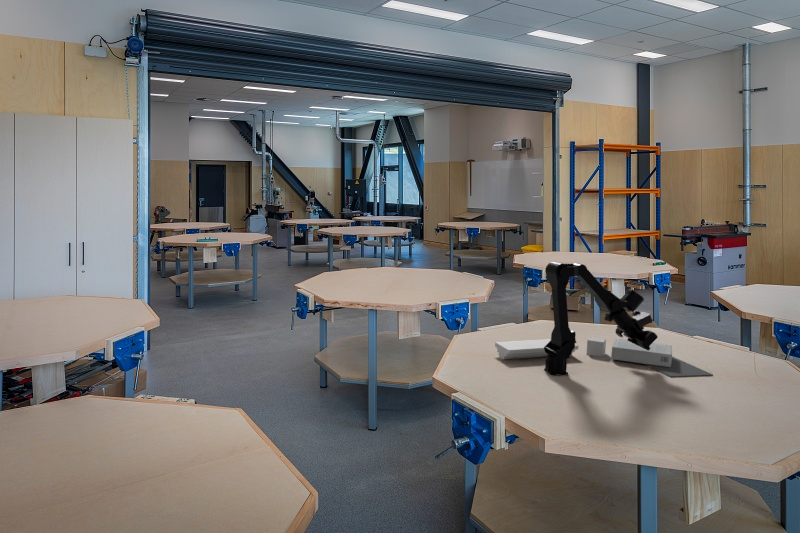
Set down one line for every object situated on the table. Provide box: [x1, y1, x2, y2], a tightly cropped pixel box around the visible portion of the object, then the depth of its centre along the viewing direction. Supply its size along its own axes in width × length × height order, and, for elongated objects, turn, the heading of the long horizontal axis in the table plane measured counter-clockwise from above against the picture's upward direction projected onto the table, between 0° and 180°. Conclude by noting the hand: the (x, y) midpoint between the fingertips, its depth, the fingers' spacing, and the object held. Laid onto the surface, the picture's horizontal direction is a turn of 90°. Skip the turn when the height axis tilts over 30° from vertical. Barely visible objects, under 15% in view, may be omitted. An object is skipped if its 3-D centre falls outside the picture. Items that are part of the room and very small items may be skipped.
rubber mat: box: [644, 356, 714, 378], centre depth 213 cm, size 17×25×1 cm
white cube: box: [585, 336, 607, 358], centre depth 227 cm, size 6×6×6 cm
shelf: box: [494, 338, 579, 361], centre depth 221 cm, size 12×30×5 cm, turn 107°
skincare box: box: [610, 338, 673, 367], centre depth 220 cm, size 21×5×16 cm
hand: (648, 349), depth 211 cm, fingers closed
